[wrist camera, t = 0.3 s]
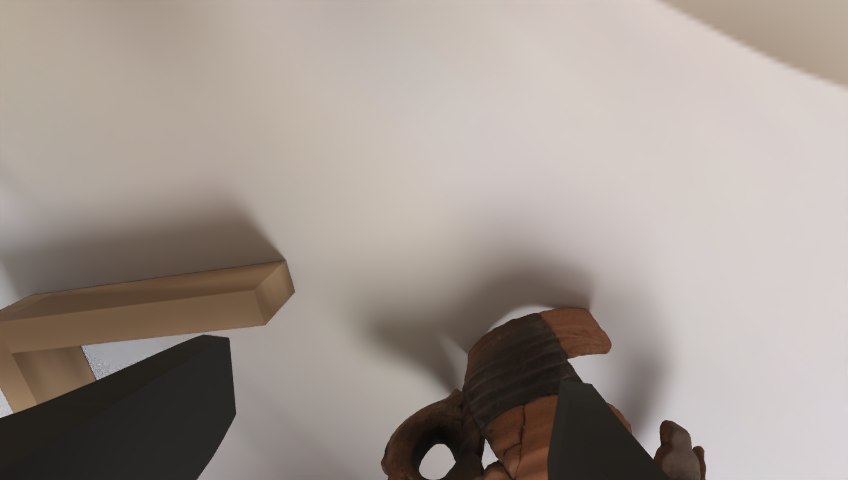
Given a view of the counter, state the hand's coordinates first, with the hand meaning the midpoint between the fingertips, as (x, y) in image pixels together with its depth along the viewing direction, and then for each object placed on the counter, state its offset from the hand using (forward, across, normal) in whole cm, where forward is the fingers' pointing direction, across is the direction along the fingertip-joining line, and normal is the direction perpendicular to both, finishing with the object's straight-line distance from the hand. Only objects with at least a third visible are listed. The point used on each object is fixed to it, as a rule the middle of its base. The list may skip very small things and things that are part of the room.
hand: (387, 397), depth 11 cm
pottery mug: (+10, -5, +7) cm, 13 cm away
